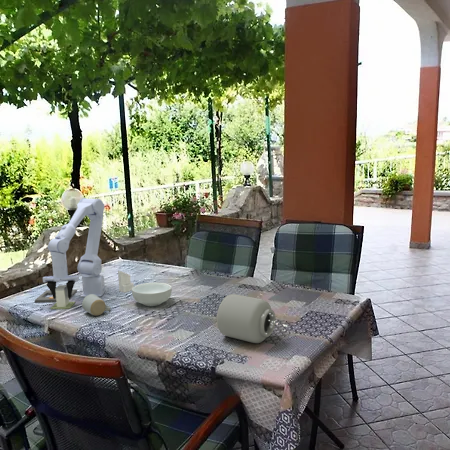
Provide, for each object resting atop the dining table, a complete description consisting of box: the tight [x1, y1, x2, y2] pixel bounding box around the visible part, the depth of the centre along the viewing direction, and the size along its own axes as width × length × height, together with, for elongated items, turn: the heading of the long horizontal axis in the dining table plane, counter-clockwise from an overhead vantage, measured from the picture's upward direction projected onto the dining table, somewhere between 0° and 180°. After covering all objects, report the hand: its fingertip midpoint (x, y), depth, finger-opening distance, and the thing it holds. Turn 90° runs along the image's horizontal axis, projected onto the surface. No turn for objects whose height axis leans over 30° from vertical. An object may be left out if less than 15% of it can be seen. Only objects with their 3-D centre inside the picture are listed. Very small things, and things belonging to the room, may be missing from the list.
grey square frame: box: [34, 289, 78, 304], centre depth 208 cm, size 14×14×2 cm
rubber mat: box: [49, 301, 76, 310], centre depth 197 cm, size 8×8×1 cm
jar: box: [216, 293, 288, 344], centre depth 157 cm, size 19×15×25 cm
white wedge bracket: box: [117, 270, 135, 294], centre depth 215 cm, size 4×10×9 cm, turn 146°
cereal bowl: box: [131, 282, 173, 307], centre depth 198 cm, size 17×17×7 cm
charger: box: [55, 284, 70, 307], centre depth 196 cm, size 4×5×8 cm
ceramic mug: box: [81, 294, 111, 316], centre depth 187 cm, size 10×8×7 cm
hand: (62, 297), depth 196 cm, fingers open, 6 cm apart
